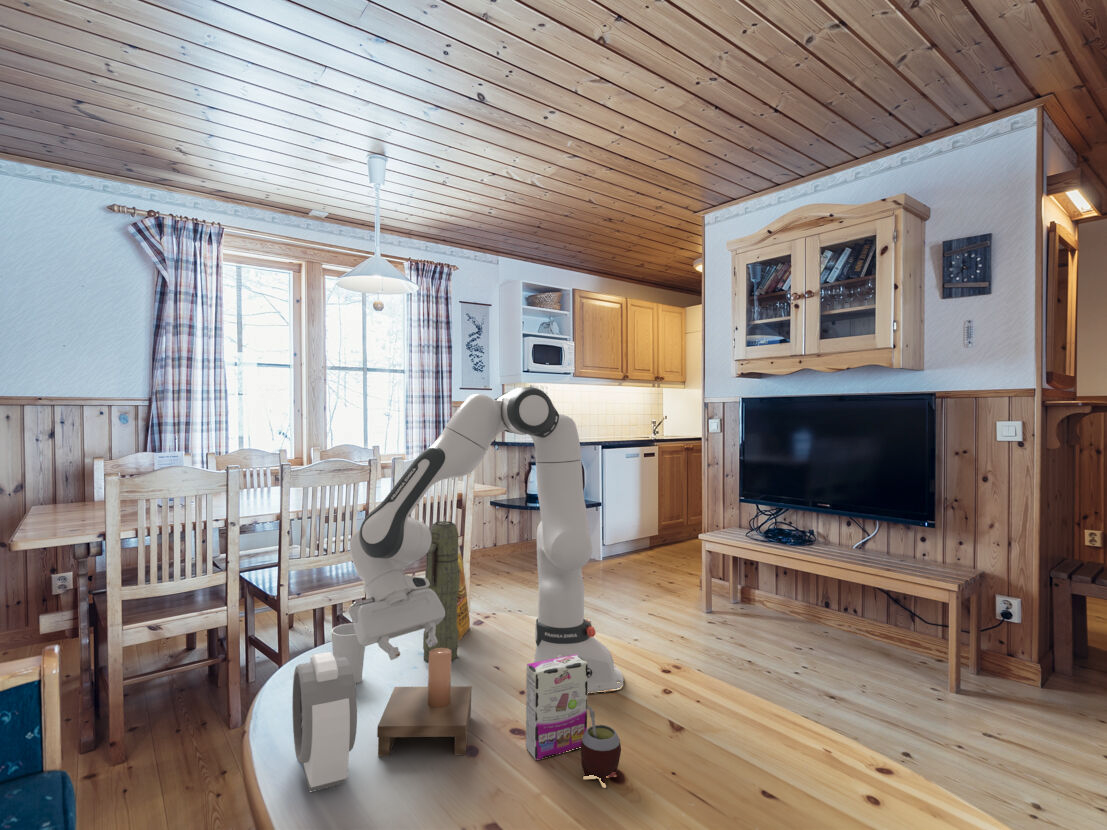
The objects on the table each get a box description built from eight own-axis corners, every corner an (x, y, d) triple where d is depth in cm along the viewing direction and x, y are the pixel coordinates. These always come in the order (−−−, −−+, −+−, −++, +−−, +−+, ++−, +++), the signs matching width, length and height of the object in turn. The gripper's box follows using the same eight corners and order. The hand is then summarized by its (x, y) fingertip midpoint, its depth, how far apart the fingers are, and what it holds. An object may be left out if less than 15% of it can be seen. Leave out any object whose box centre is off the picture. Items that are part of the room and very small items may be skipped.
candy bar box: (574, 735, 120) (576, 652, 120) (587, 747, 115) (589, 662, 115) (523, 748, 114) (525, 662, 115) (534, 762, 110) (537, 672, 110)
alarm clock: (290, 752, 111) (292, 643, 111) (338, 740, 115) (340, 635, 115) (302, 808, 96) (305, 681, 96) (357, 793, 100) (360, 671, 100)
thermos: (413, 663, 152) (416, 525, 152) (436, 647, 163) (439, 518, 163) (444, 669, 149) (448, 528, 149) (465, 651, 160) (469, 520, 160)
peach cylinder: (454, 699, 121) (455, 649, 121) (442, 709, 117) (443, 657, 117) (435, 695, 122) (436, 646, 122) (423, 704, 118) (424, 654, 118)
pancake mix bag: (432, 645, 164) (434, 543, 164) (453, 621, 183) (455, 530, 183) (456, 647, 163) (458, 544, 163) (474, 623, 182) (476, 531, 182)
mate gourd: (613, 764, 110) (615, 682, 110) (626, 791, 102) (628, 703, 102) (574, 767, 109) (576, 684, 109) (583, 794, 101) (585, 705, 101)
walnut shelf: (470, 714, 127) (471, 686, 127) (464, 758, 111) (465, 725, 111) (394, 715, 126) (394, 686, 126) (376, 759, 110) (377, 726, 110)
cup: (359, 688, 138) (360, 635, 138) (324, 687, 138) (325, 634, 138) (370, 673, 146) (371, 623, 146) (337, 672, 146) (339, 622, 146)
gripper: (352, 595, 122) (377, 657, 115) (433, 577, 137) (460, 631, 131) (339, 612, 125) (364, 673, 118) (421, 592, 140) (446, 645, 134)
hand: (415, 651), depth 124 cm, fingers open, 8 cm apart
